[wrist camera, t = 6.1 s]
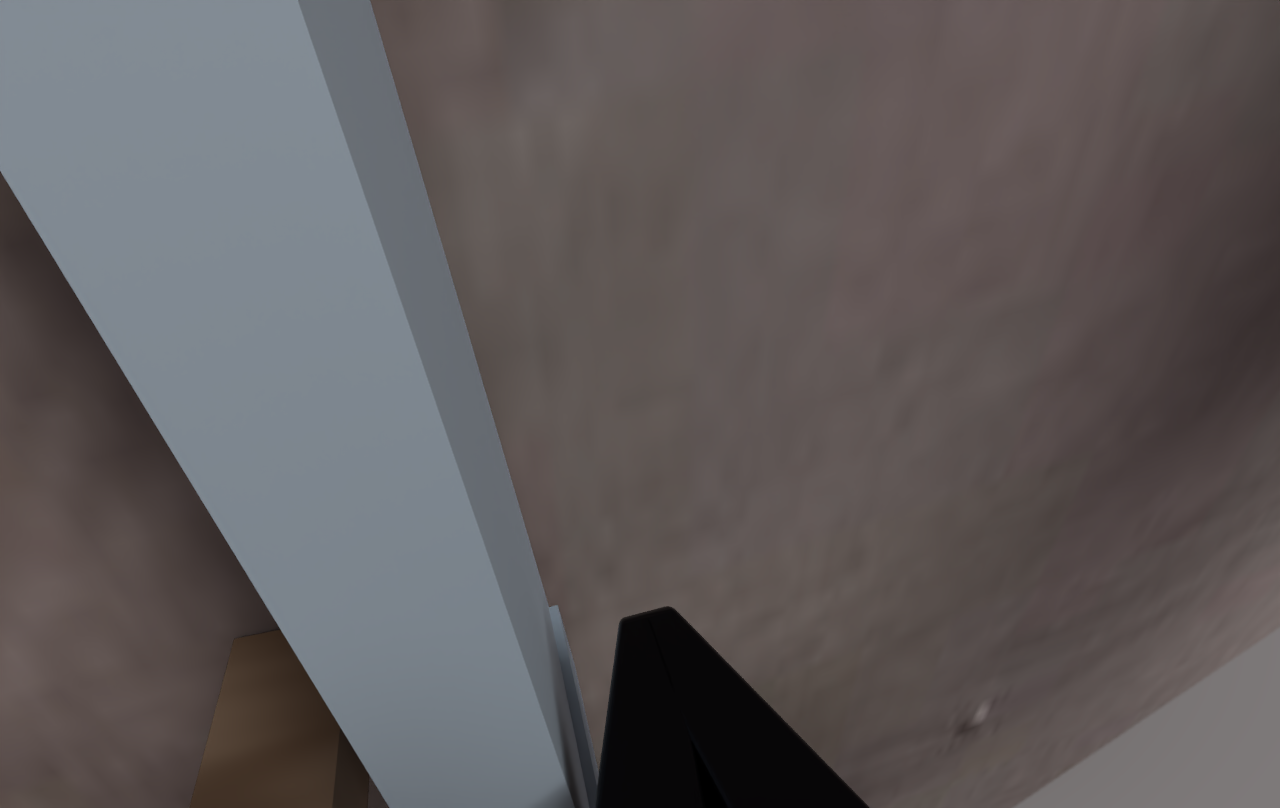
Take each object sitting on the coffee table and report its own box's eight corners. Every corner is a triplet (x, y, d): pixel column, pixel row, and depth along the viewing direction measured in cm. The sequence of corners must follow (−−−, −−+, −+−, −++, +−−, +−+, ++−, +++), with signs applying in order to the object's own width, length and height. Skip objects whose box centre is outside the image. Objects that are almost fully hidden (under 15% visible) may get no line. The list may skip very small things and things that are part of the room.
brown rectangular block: (350, 615, 12) (317, 954, 8) (374, 684, 13) (355, 1021, 9) (234, 638, 12) (136, 1007, 8) (267, 708, 13) (196, 1069, 9)
